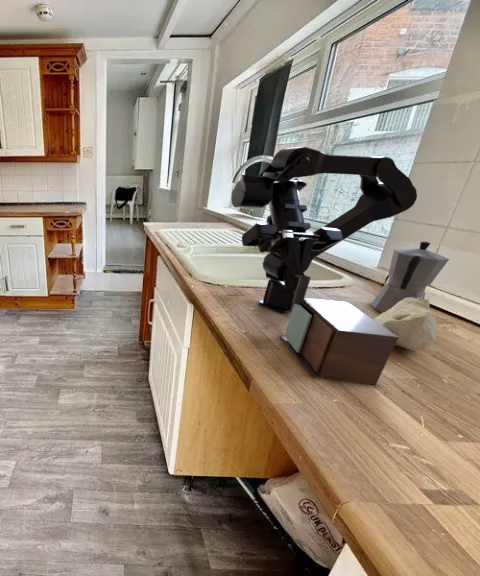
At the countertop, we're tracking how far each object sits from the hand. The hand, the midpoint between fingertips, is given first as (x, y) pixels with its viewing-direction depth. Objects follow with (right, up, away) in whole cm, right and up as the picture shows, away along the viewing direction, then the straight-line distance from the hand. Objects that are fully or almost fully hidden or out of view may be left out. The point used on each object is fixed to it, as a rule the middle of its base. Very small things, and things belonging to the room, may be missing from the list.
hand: (297, 275), depth 61 cm
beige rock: (+21, -13, +3) cm, 25 cm away
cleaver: (-3, -13, -2) cm, 14 cm away
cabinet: (+1, -15, -6) cm, 16 cm away
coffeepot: (+34, -9, +16) cm, 39 cm away
